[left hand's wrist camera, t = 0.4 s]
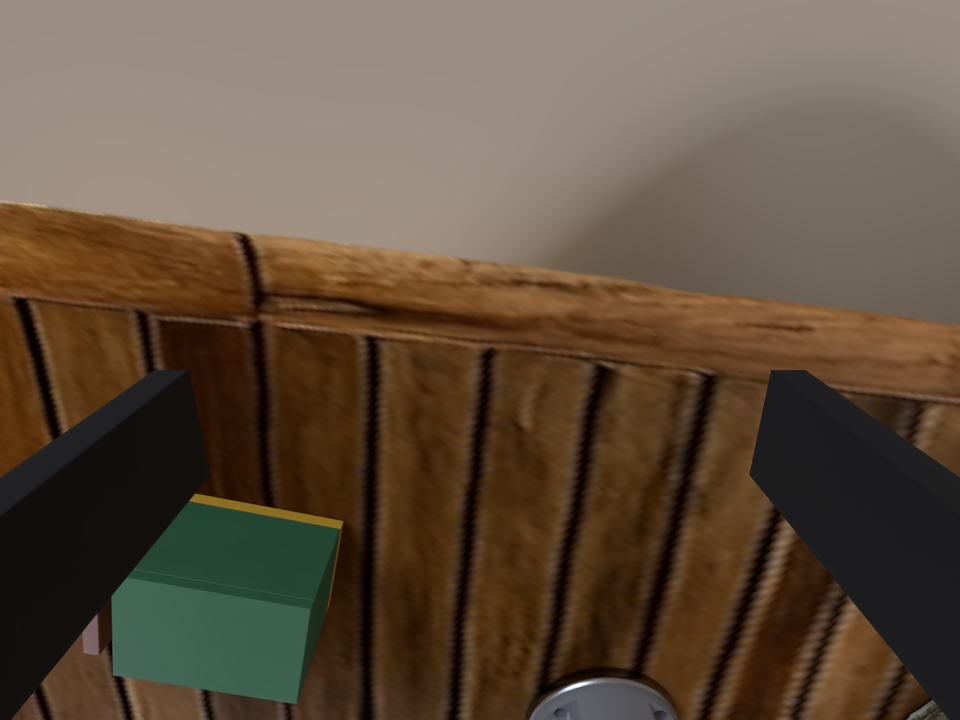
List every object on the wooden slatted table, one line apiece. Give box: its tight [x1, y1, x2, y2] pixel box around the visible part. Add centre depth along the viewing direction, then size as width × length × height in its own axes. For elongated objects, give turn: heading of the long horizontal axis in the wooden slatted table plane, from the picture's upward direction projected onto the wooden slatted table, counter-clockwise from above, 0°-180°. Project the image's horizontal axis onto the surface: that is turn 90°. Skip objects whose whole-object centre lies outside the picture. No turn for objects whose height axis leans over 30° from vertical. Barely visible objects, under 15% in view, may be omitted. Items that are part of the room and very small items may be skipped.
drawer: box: [82, 596, 112, 655], centre depth 43 cm, size 18×8×8 cm, turn 77°
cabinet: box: [112, 494, 343, 704], centre depth 44 cm, size 14×10×10 cm
